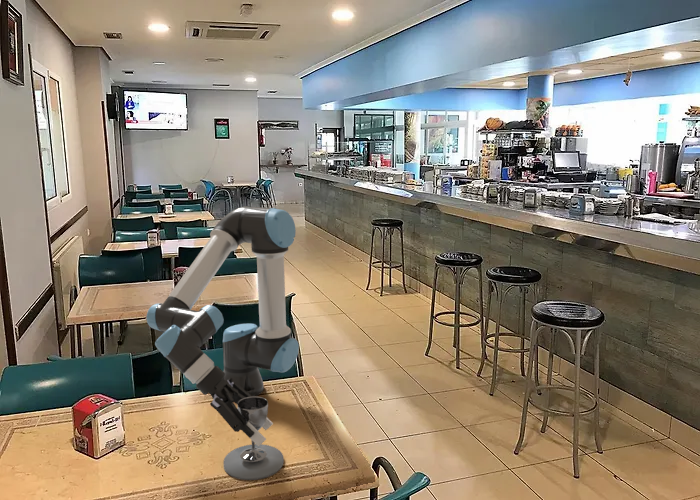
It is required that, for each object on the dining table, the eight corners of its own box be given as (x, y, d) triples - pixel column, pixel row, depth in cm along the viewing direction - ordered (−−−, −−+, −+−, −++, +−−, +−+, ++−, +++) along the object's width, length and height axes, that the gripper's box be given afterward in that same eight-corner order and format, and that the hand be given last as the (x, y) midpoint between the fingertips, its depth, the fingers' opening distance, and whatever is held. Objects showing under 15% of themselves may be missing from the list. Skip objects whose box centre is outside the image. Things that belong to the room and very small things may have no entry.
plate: (239, 443, 166) (239, 440, 166) (292, 452, 162) (292, 449, 162) (212, 474, 151) (212, 470, 151) (269, 484, 147) (269, 481, 147)
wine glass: (262, 464, 152) (261, 411, 149) (233, 460, 153) (232, 407, 150) (272, 448, 159) (272, 398, 156) (245, 445, 161) (244, 395, 158)
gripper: (208, 368, 164) (265, 424, 165) (181, 400, 144) (246, 464, 145) (226, 351, 162) (283, 408, 164) (201, 381, 142) (266, 446, 144)
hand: (265, 434), depth 155 cm, fingers closed on wine glass, 8 cm apart
